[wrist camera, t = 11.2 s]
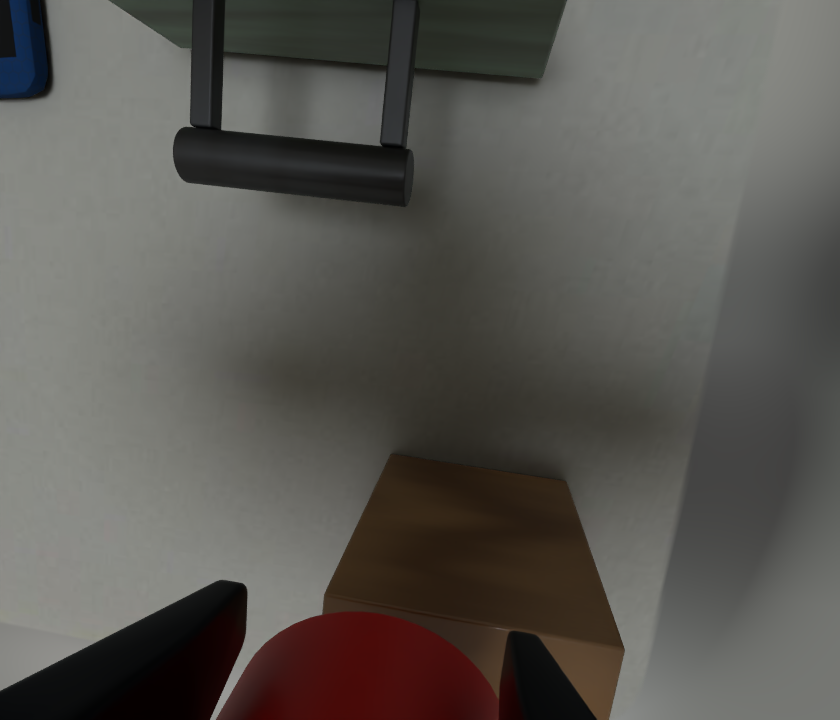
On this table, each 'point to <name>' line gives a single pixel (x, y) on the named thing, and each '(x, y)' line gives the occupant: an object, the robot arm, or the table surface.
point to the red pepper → (360, 674)
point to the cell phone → (22, 49)
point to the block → (483, 569)
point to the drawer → (347, 42)
